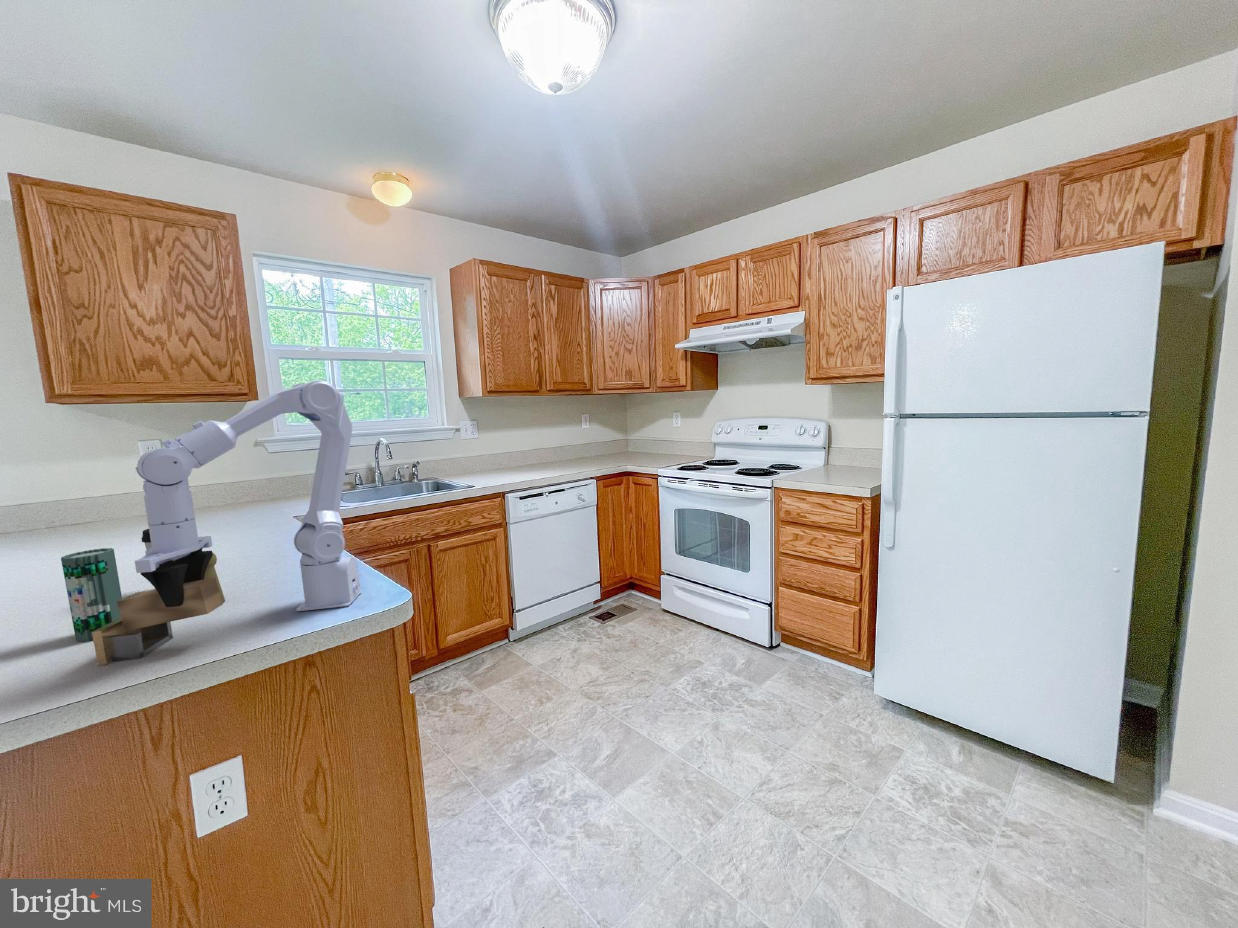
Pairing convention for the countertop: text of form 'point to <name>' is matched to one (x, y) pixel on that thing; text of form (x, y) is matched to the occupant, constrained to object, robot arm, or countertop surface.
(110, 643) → the bracket
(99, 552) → the can
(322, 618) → the countertop surface
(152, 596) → the tan rectangular block
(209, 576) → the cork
